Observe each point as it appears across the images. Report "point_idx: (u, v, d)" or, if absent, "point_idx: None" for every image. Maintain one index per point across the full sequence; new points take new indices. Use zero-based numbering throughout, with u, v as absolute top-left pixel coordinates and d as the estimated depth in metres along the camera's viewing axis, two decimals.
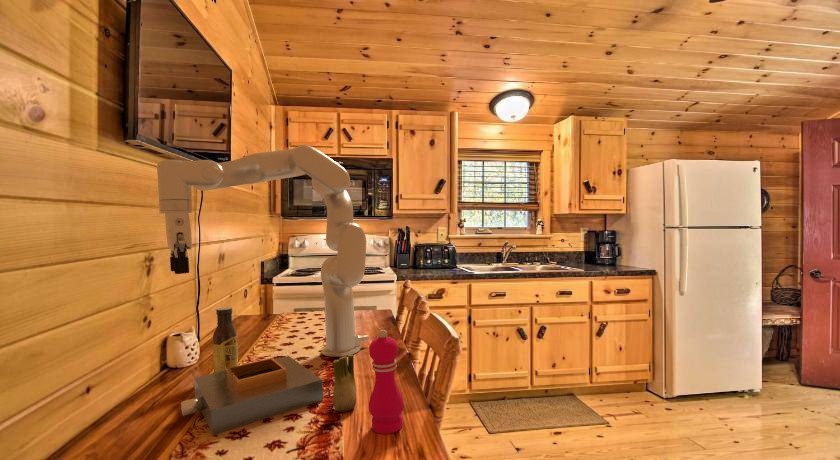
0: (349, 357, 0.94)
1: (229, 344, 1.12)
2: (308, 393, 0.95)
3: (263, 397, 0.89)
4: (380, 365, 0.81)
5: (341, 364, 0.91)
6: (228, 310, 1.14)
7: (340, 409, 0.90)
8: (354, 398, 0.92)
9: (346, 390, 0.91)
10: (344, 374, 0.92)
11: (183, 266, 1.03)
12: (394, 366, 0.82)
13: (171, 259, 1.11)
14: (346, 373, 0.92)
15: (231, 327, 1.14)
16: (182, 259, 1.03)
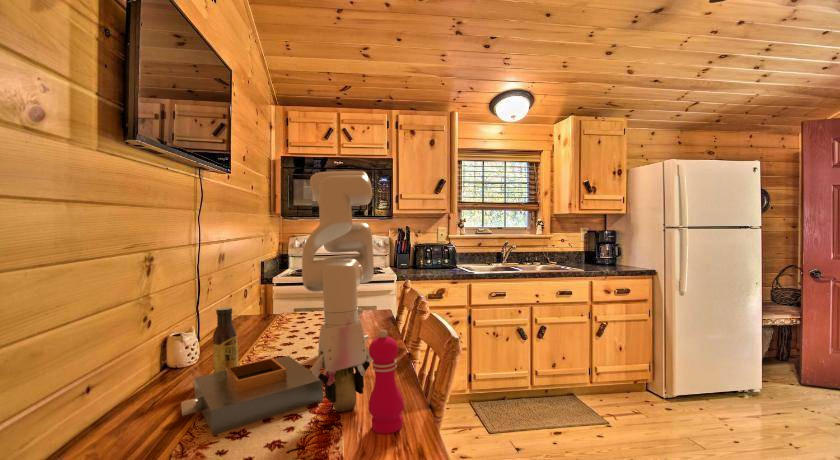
0: None
1: (229, 344, 1.12)
2: (308, 393, 0.95)
3: (263, 397, 0.89)
4: (380, 365, 0.81)
5: None
6: (228, 310, 1.14)
7: (340, 409, 0.90)
8: (354, 398, 0.92)
9: (346, 390, 0.91)
10: (344, 374, 0.92)
11: None
12: (394, 366, 0.82)
13: (334, 387, 0.89)
14: (346, 373, 0.92)
15: (231, 327, 1.14)
16: None
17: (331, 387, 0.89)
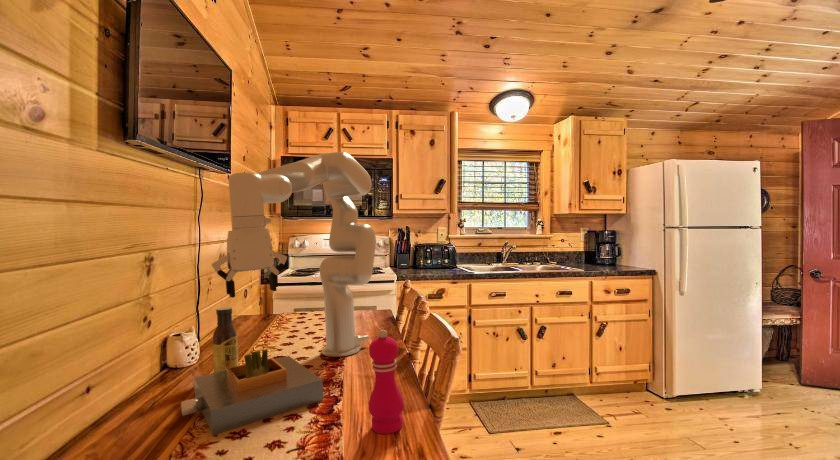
0: (263, 351, 1.01)
1: (229, 344, 1.12)
2: (308, 393, 0.95)
3: (263, 397, 0.89)
4: (380, 365, 0.81)
5: (252, 357, 0.99)
6: (228, 310, 1.14)
7: None
8: None
9: None
10: (256, 367, 0.99)
11: None
12: (394, 366, 0.82)
13: None
14: (258, 366, 1.00)
15: (231, 327, 1.14)
16: None
17: (230, 283, 0.96)
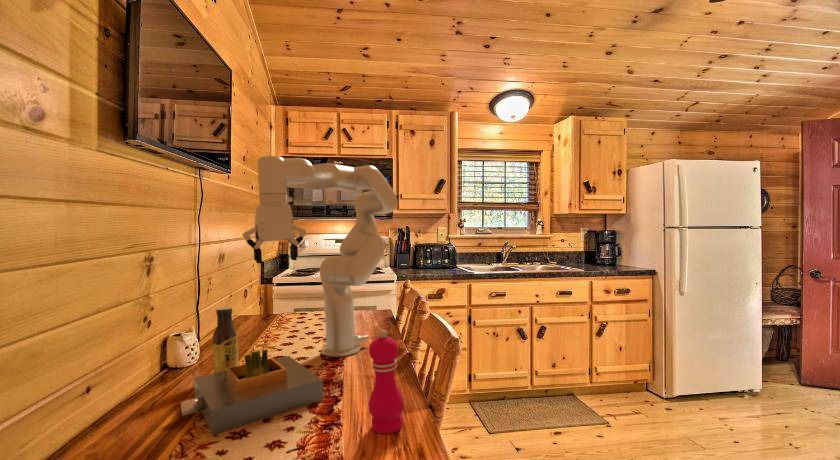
0: (263, 351, 1.01)
1: (229, 344, 1.12)
2: (308, 393, 0.95)
3: (263, 397, 0.89)
4: (380, 365, 0.81)
5: (252, 357, 0.99)
6: (228, 310, 1.14)
7: None
8: None
9: None
10: (256, 367, 0.99)
11: None
12: (394, 366, 0.82)
13: None
14: (258, 366, 1.00)
15: (231, 327, 1.14)
16: None
17: (258, 251, 1.11)
